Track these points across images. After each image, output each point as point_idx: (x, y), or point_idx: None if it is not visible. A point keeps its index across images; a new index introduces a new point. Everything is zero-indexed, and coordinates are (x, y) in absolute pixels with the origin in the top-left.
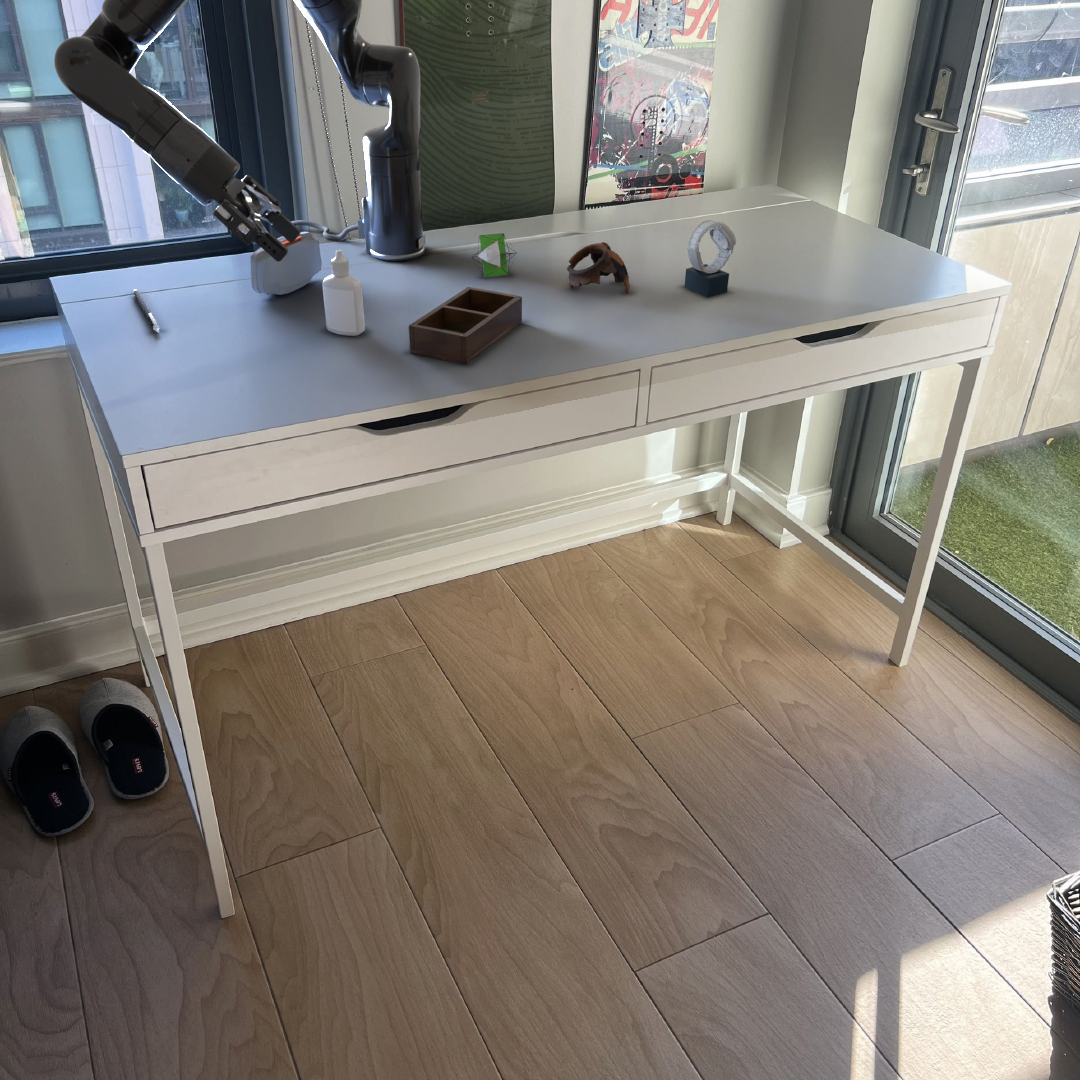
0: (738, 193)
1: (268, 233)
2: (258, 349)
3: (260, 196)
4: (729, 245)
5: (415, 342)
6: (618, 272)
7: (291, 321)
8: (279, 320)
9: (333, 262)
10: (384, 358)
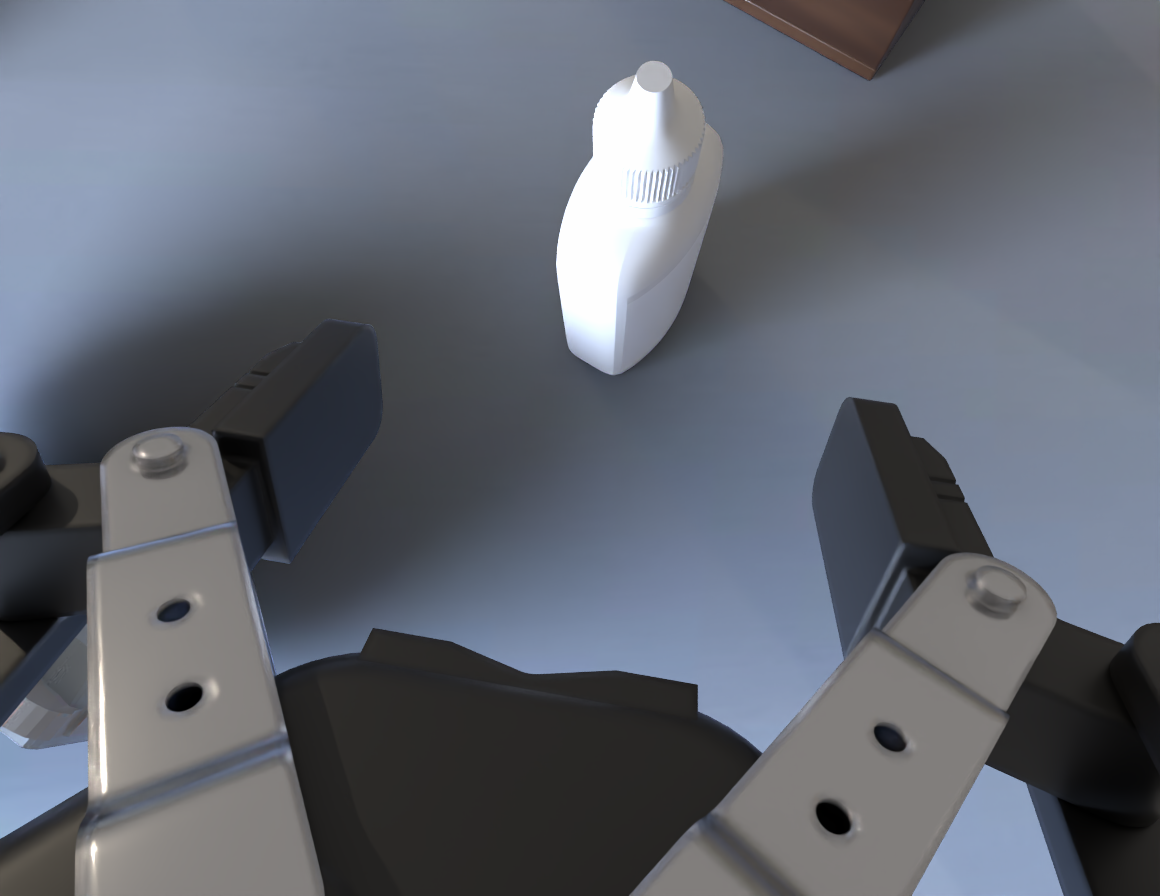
0: None
1: (948, 538)
2: (788, 654)
3: (220, 664)
4: None
5: (902, 27)
6: None
7: (489, 527)
8: (470, 579)
9: (687, 158)
10: (912, 169)
